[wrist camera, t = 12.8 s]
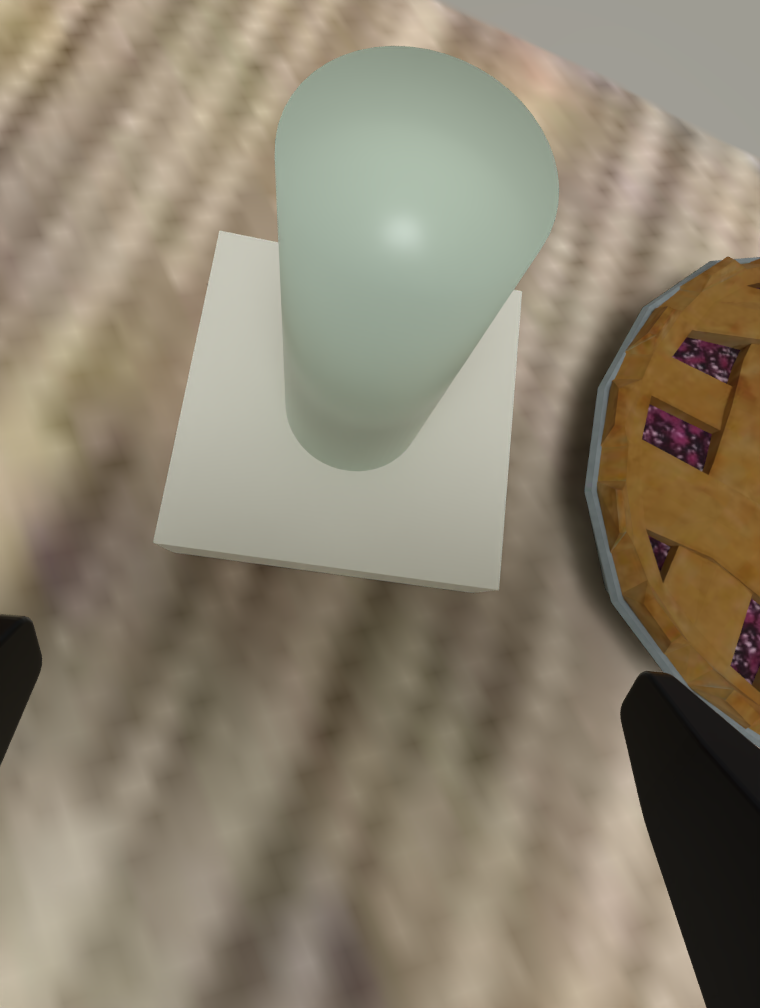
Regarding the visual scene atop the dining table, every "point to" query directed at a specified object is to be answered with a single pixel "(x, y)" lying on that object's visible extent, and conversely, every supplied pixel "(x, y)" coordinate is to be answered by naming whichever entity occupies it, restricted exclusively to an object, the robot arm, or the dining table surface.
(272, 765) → the dining table surface
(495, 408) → the stand
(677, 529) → the pie
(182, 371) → the dining table surface
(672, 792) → the robot arm
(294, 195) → the ball
